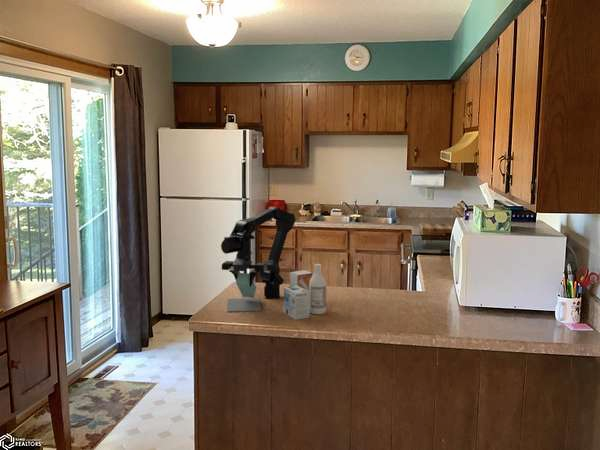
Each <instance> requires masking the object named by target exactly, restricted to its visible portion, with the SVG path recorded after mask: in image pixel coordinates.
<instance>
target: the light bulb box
mask: <svg viewBox="0 0 600 450" xmlns="http://www.w3.org/2000/svg"><path fill="white" fill-rule="evenodd" d="M309 297H310V291H307V290H305V289H303V288H301V287H299V286H291V287H290V286H286V287H283V314H286V315H287V316H288V317H290V318H291V319H292V320H295V321H296V320H303V319H307V318H310V312H309Z"/></svg>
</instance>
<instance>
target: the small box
mask: <svg viewBox="0 0 600 450" xmlns="http://www.w3.org/2000/svg"><path fill="white" fill-rule="evenodd" d="M312 276H313V272H311V271H308V270H305V269H304V270H295V271H290V272H289V287H291V286H299V287H301V288H303V289H305V290H307V291H309V282H310V279H311V277H312Z"/></svg>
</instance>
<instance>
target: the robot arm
mask: <svg viewBox="0 0 600 450" xmlns="http://www.w3.org/2000/svg"><path fill="white" fill-rule="evenodd" d="M272 219H274V220H275V228H276V231H275V235H274V239H273V241H272V242H273V243H272V246H271V249H270V252H269V256H268V257H267V258H268V259H267V260H266V261H265V262H257V263H255V264H253V261H252V255H253V252H252V240H254V239H255V238H256V237H255V235H253V233H254V232H255V231H256V230H257V228H258V227H259V226H261V225H263V224H265V223H266V222H269V221H271V220H272ZM295 223H296V217H295V214H294V213H292V212H287V211H286V210H284V209H281V208H279V206H278V207H277V206H269V207H268V208H267V209H265V210H263V211H262V212H259V213H257V214H256V215H253V216H252V217H249V218H243V219H240V220H237V221H236V222H235V225H234V227H233V228H232V230H231V233H230V235H229V236H224V237H223V240H222V241H221V244H220V248H221V251H222V253H224V254H227V255H228V254H233V253H236V255H235V256H236V257H235V259H234V260H226V261H224V262H223V263H222V264H221V270H222V271H228V272H229V273H231V274H232V275H233V276H234V280H235V282H236V281H237V277H238V274H239V273H241V272H244V271H245V270H251V271H250V272H249V273H250V287H251V286H252V283H253V281H254V280H255V277H256V276H257V274H258V273H259V277H260V278H261V282H262V283H263V284H264V286H263V290H264V291H263V296H264V297H265V298H264V299H280V298H281V295H280V292H281V291H280V290H281V289H280V287H281V285H283V284H284V278H283V277H282V276H281V275H280V273H281V270H280V269H281V268H280V260H281V257H282V256H281V255H282V253H283V250H284V246H285V243H286V239H287V235H288V234H289V232H290V231H291V230H292V229H293V227H294V226H295Z"/></svg>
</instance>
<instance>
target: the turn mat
mask: <svg viewBox="0 0 600 450" xmlns="http://www.w3.org/2000/svg"><path fill="white" fill-rule="evenodd" d="M260 299H261V298H260V297H254V298H251V297H243V298H227V303H226V305H227V306H226V313H246V312H247V313H248V312H251V313H252V312H262V308H261V300H260Z"/></svg>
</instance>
